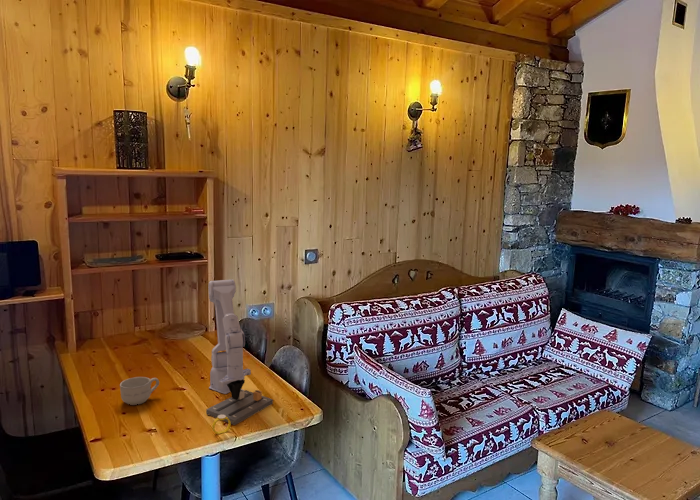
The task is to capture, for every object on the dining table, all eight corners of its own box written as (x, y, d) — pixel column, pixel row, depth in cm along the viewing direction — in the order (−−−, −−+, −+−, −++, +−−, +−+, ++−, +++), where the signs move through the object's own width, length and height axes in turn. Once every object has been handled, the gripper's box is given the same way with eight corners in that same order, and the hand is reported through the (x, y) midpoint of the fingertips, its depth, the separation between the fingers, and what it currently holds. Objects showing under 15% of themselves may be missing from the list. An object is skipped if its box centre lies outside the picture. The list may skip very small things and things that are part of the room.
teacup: (121, 410, 189) (120, 389, 188) (119, 398, 198) (118, 378, 197) (162, 403, 195) (161, 383, 194) (158, 391, 205) (157, 372, 203)
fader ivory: (235, 398, 196) (235, 390, 195) (240, 396, 198) (240, 388, 197) (239, 399, 195) (239, 391, 194) (244, 397, 197) (244, 389, 196)
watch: (228, 429, 178) (229, 413, 177) (231, 433, 176) (232, 416, 175) (211, 432, 175) (212, 416, 174) (213, 436, 173) (214, 419, 172)
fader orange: (253, 399, 195) (253, 391, 195) (257, 397, 197) (257, 389, 197) (257, 401, 194) (257, 392, 193) (261, 398, 196) (261, 390, 195)
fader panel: (206, 414, 188) (206, 408, 188) (245, 394, 205) (245, 389, 204) (234, 425, 180) (234, 419, 180) (272, 403, 197) (272, 398, 197)
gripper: (228, 372, 184) (228, 408, 186) (256, 360, 196) (256, 394, 198) (214, 368, 187) (214, 403, 190) (242, 356, 199) (243, 389, 202)
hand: (235, 398), depth 194 cm, fingers closed
